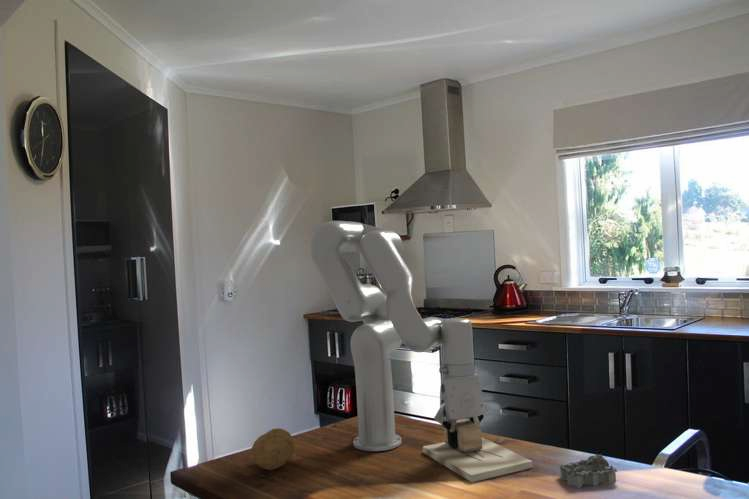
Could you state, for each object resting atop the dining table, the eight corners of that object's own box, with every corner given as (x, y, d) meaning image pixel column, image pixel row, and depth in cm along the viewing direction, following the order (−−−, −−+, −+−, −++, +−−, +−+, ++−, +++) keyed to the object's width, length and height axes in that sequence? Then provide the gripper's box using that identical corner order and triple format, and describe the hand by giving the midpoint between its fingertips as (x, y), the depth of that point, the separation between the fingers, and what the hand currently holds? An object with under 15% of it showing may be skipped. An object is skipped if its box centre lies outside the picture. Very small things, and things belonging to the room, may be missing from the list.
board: (422, 452, 145) (422, 446, 145) (477, 441, 152) (477, 435, 152) (471, 482, 125) (471, 475, 125) (532, 467, 131) (532, 460, 131)
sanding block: (444, 442, 146) (443, 420, 146) (462, 439, 148) (460, 417, 148) (464, 452, 138) (462, 429, 138) (482, 448, 140) (480, 425, 140)
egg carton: (604, 472, 128) (603, 453, 128) (621, 485, 120) (620, 465, 120) (556, 475, 127) (555, 456, 127) (570, 489, 120) (569, 469, 120)
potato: (242, 478, 135) (240, 443, 135) (264, 457, 148) (262, 425, 148) (283, 478, 133) (281, 443, 133) (301, 457, 147) (300, 425, 147)
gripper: (436, 377, 136) (441, 455, 136) (497, 367, 143) (501, 442, 143) (420, 372, 143) (425, 447, 143) (479, 363, 150) (484, 434, 150)
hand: (463, 443), depth 143 cm, fingers closed on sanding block, 5 cm apart
